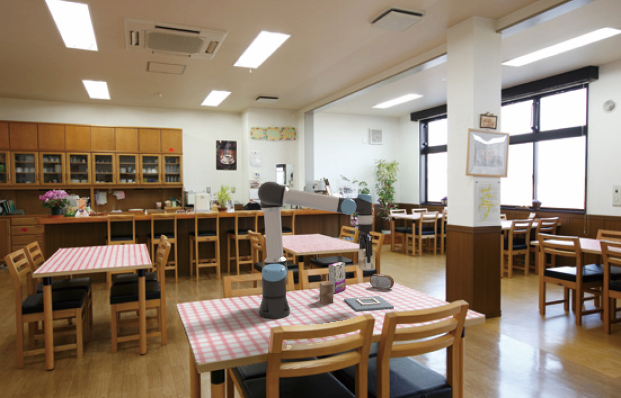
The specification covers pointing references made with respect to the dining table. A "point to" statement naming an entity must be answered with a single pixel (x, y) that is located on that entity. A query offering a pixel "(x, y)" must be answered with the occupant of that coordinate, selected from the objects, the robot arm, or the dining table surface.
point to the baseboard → (359, 307)
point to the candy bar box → (337, 276)
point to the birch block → (362, 259)
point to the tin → (381, 281)
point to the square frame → (368, 303)
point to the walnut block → (326, 292)
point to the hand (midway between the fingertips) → (366, 267)
